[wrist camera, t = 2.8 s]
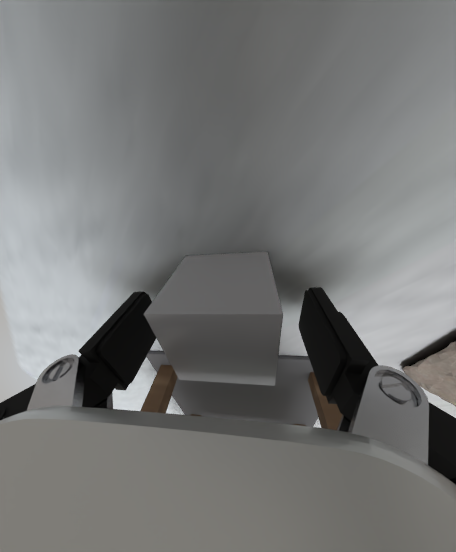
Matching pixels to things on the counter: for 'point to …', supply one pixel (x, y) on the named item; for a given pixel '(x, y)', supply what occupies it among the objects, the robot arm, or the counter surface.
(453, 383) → the concrete fragment
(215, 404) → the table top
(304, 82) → the counter surface
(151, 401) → the frame
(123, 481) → the robot arm
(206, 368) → the stone block
